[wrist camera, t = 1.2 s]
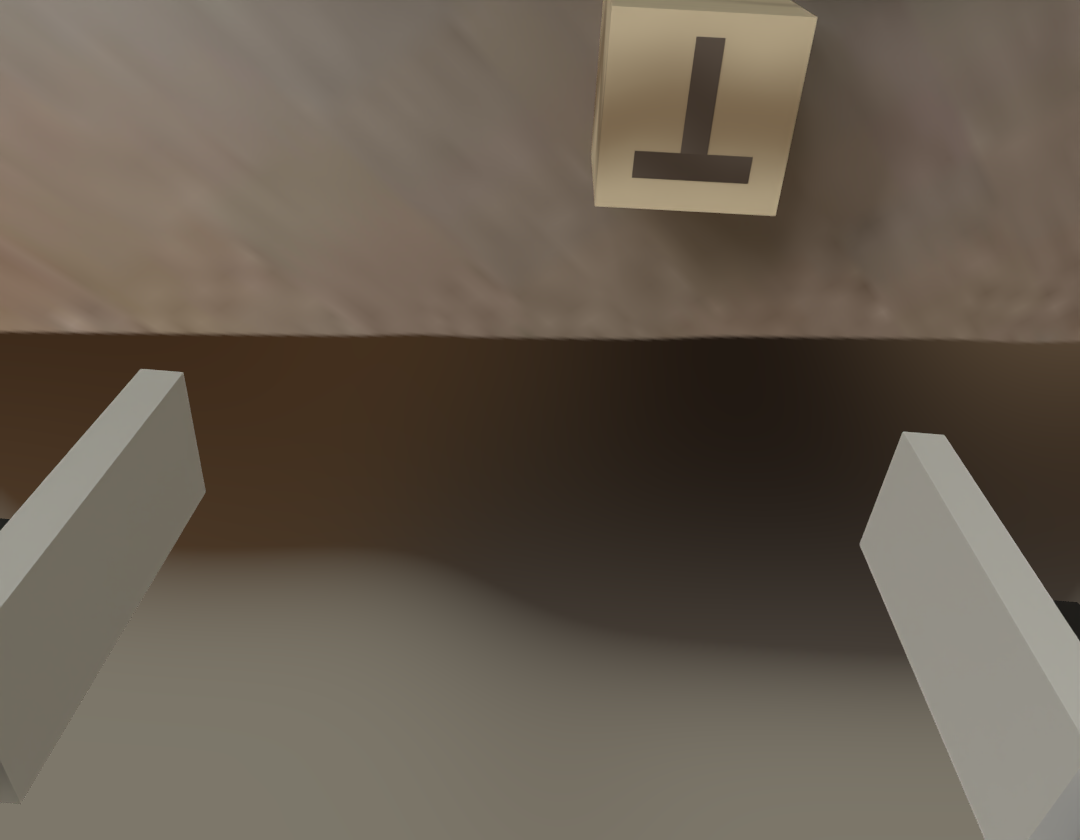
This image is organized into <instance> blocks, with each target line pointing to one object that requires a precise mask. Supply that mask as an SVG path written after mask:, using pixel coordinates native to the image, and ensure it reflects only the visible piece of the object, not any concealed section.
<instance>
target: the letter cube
mask: <svg viewBox="0 0 1080 840" xmlns="http://www.w3.org/2000/svg"><path fill="white" fill-rule="evenodd" d="M817 18H818V17H816V16H815V15H813V14H811V13H810V12H808V11H807V10H805V9H804V8H802V7H800V6H799V5H797V4H796V3H794V2H793V1H791V0H603V9H602V21H601V34H600V46H599V59H598V72H597V84H596V97H595V109H594V122H593V134H592V147H591V161H592V174H593V187H594V200H595V206H600V207H619V208H637V209H655V210H674V211H692V212H710V213H729V214H747V215H765V216H776V211H777V207H778V202H779V197H780V193H781V188H782V183H783V178H784V174H785V169H786V164H787V160H788V155H789V150H790V145H791V141H792V136H793V131H794V126H795V122H796V117H797V112H798V108H799V103H800V98H801V93H802V89H803V84H804V79H805V75H806V70H807V65H808V60H809V56H810V51H811V46H812V41H813V37H814V32H815V27H816V23H817Z"/></svg>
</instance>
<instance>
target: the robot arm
mask: <svg viewBox="0 0 1080 840" xmlns="http://www.w3.org/2000/svg"><path fill="white" fill-rule="evenodd" d="M205 492H206V491H205V486H204V481H203V475H202V470H201V464H200V459H199V454H198V449H197V443H196V438H195V432H194V427H193V422H192V416H191V411H190V406H189V400H188V395H187V389H186V384H185V379H184V373H183V372H172V371H160V370H148V369H140V370H139V372H138V373H137V374H136V375H135V376H134V377H133V378H132V380H131V381H130V382H129V383H128V384H127V385H126V387H125V388H124V389H123V390H122V391H121V392H120V394H119V395H118V396H117V397H116V398H115V399H114V400H113V401H112V403H111V404H110V405H109V406H108V407H107V408H106V410H105V411H104V412H103V413H102V414H101V415H100V416H99V418H98V419H97V420H96V421H95V422H94V423H93V425H92V426H91V427H90V428H89V429H88V430H87V432H86V433H85V434H84V435H83V436H82V437H81V438H80V440H79V441H78V442H77V443H76V444H75V445H74V446H73V448H72V449H71V450H70V451H69V452H68V454H67V455H66V456H65V457H64V458H63V459H62V460H61V461H60V463H59V464H58V465H57V466H56V467H55V468H54V469H53V471H52V472H51V473H50V474H49V475H48V476H47V477H46V479H45V480H44V481H43V482H42V483H41V484H40V486H39V487H38V488H37V489H36V490H35V491H34V492H33V494H32V495H31V496H30V497H29V498H28V499H27V501H26V502H25V503H24V504H23V505H22V507H20V509H19V510H18V511H17V512H16V513H15V514H14V515H13V517H12V518H11V519H0V802H1V803H14V804H21V802H22V801H23V799H24V798H25V796H26V794H27V793H28V791H29V789H30V788H31V786H32V784H33V782H34V781H35V779H36V777H37V776H38V774H39V772H40V771H41V769H42V767H43V765H44V764H45V762H46V761H47V759H48V757H49V755H50V754H51V752H52V750H53V749H54V747H55V745H56V743H57V742H58V740H59V739H60V737H61V735H62V733H63V732H64V730H65V728H66V727H67V725H68V723H69V722H70V720H71V718H72V717H73V715H74V713H75V711H76V710H77V708H78V706H79V705H80V703H81V701H82V700H83V698H84V696H85V695H86V693H87V691H88V690H89V688H90V686H91V685H92V683H93V681H94V679H95V678H96V676H97V674H98V673H99V671H100V669H101V668H102V666H103V664H104V663H105V661H106V659H107V657H108V656H109V654H110V652H111V651H112V649H113V647H114V646H115V644H116V642H117V640H118V639H119V637H120V635H121V634H122V632H123V630H124V629H125V627H126V625H127V624H128V622H129V620H130V619H131V617H132V615H133V614H134V612H135V610H136V609H137V607H138V605H139V603H140V602H141V600H142V598H143V597H144V595H145V593H146V592H147V590H148V588H149V587H150V585H151V583H152V581H153V580H154V578H155V576H156V575H157V573H158V571H159V570H160V568H161V566H162V565H163V563H164V561H165V559H166V558H167V556H168V555H169V553H170V551H171V549H172V548H173V546H174V544H175V543H176V541H177V539H178V538H179V536H180V534H181V533H182V531H183V529H184V527H185V526H186V524H187V522H188V521H189V519H190V517H191V516H192V514H193V512H194V511H195V509H196V507H197V506H198V504H199V502H200V500H201V499H202V497H203V495H204V494H205ZM860 547H861V549H862V551H863V554H864V556H865V558H866V561H867V563H868V566H869V568H870V570H871V573H872V575H873V577H874V580H875V582H876V585H877V587H878V589H879V592H880V594H881V596H882V599H883V601H884V603H885V606H886V608H887V610H888V613H889V615H890V618H891V620H892V622H893V625H894V627H895V629H896V632H897V634H898V636H899V639H900V641H901V643H902V646H903V648H904V651H905V653H906V655H907V658H908V660H909V662H910V665H911V667H912V669H913V672H914V674H915V676H916V679H917V681H918V684H919V686H920V688H921V691H922V693H923V695H924V698H925V700H926V702H927V705H928V706H929V709H930V712H931V714H932V717H933V719H934V721H935V724H936V726H937V728H938V730H939V733H940V735H941V738H942V740H943V743H944V745H945V747H946V750H947V751H948V754H949V756H950V759H951V761H952V764H953V766H954V768H955V771H956V773H957V776H958V778H959V780H960V783H961V785H962V787H963V790H964V792H965V794H966V797H967V799H968V801H969V804H970V806H971V809H972V811H973V813H974V816H975V818H976V820H977V823H978V825H979V827H980V830H981V832H982V834H983V837H984V839H985V840H1080V605H1079V604H1078V603H1077V602H1066V601H1054V600H1052V598H1051V597H1050V595H1049V594H1048V592H1047V591H1046V589H1045V588H1044V586H1043V585H1042V583H1041V582H1040V580H1039V579H1038V577H1037V575H1036V574H1035V572H1034V571H1033V569H1032V568H1031V567H1030V565H1029V563H1028V562H1027V560H1026V559H1025V557H1024V556H1023V554H1022V553H1021V551H1020V550H1019V548H1018V547H1017V545H1016V544H1015V542H1014V540H1013V539H1012V537H1011V536H1010V534H1009V533H1008V531H1007V530H1006V529H1005V527H1004V525H1003V524H1002V522H1001V521H1000V519H999V518H998V516H997V515H996V513H995V511H994V510H993V509H992V507H991V505H990V504H989V502H988V501H987V499H986V498H985V496H984V495H983V493H982V492H981V490H980V489H979V487H978V486H977V484H976V483H975V481H974V480H973V478H972V476H971V475H970V474H969V472H968V470H967V469H966V467H965V466H964V464H963V463H962V461H961V460H960V458H959V457H958V455H957V454H956V453H955V451H954V449H953V448H952V446H951V444H950V443H949V441H948V440H947V438H946V437H945V436H944V435H938V434H937V435H936V434H925V433H913V432H903V433H902V435H901V438H900V440H899V443H898V446H897V448H896V451H895V453H894V456H893V459H892V461H891V464H890V466H889V469H888V472H887V474H886V477H885V479H884V482H883V485H882V487H881V490H880V492H879V495H878V498H877V500H876V503H875V505H874V508H873V511H872V513H871V516H870V518H869V521H868V524H867V526H866V529H865V531H864V534H863V537H862V539H861V542H860Z"/></svg>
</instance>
